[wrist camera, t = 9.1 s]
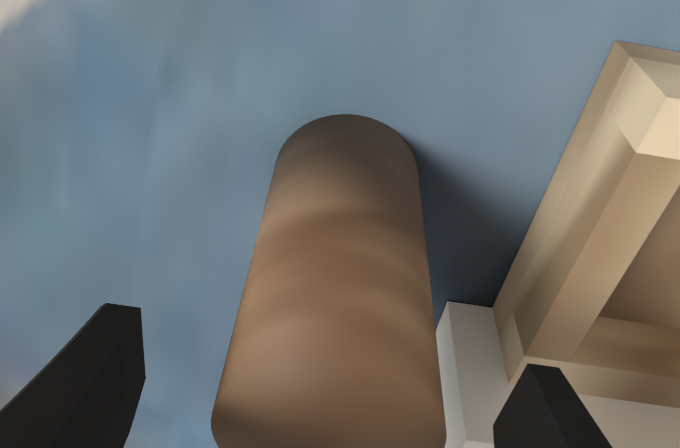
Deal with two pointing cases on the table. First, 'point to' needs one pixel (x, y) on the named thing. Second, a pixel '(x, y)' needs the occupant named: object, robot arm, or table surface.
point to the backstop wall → (494, 389)
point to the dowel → (336, 302)
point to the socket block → (607, 243)
